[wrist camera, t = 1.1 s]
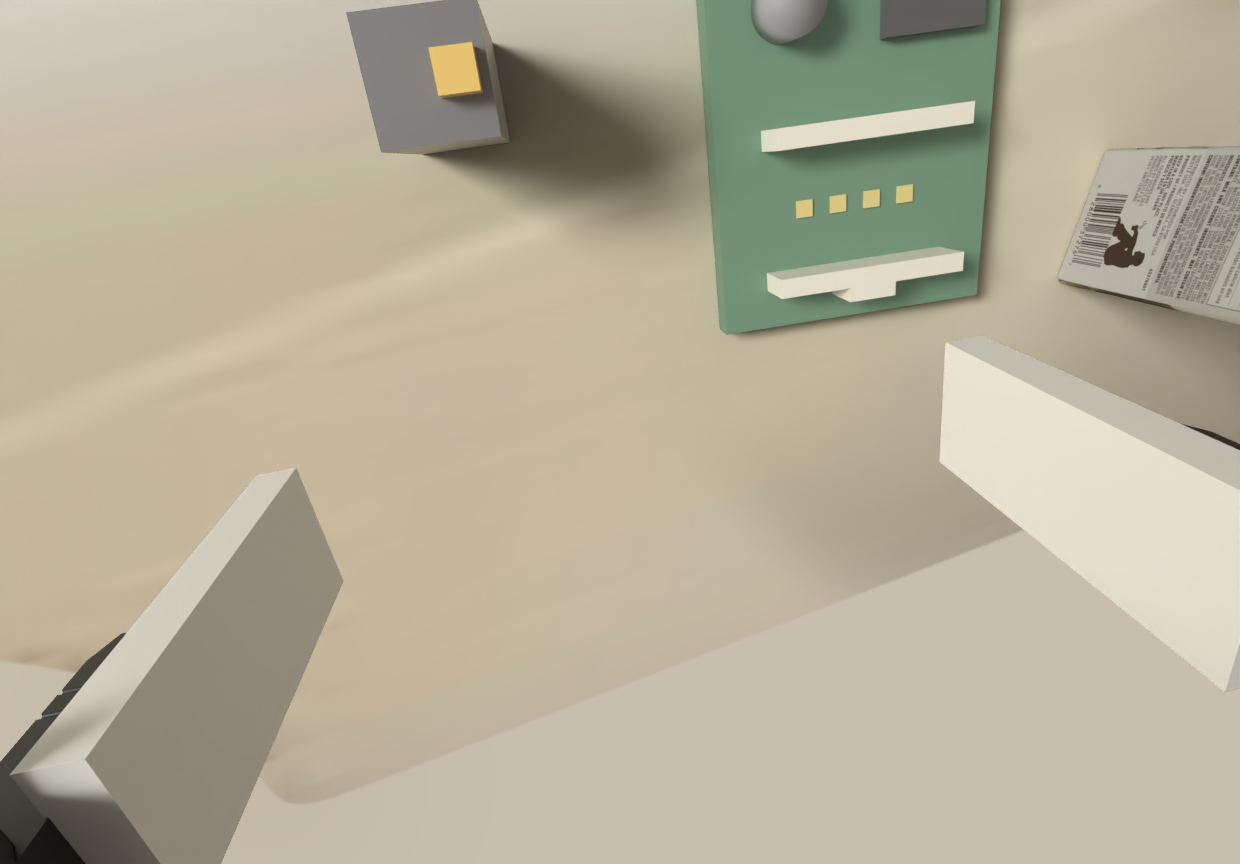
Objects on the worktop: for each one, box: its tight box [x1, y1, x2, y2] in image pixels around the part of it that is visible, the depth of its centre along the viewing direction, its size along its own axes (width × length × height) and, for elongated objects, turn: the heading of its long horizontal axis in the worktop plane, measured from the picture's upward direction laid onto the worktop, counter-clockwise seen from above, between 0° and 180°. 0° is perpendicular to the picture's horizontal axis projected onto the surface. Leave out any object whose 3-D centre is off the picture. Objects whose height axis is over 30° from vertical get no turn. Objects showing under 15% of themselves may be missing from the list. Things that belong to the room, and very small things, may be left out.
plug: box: [347, 0, 510, 154], centre depth 22 cm, size 4×4×9 cm
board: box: [696, 0, 1001, 335], centre depth 27 cm, size 16×12×3 cm
